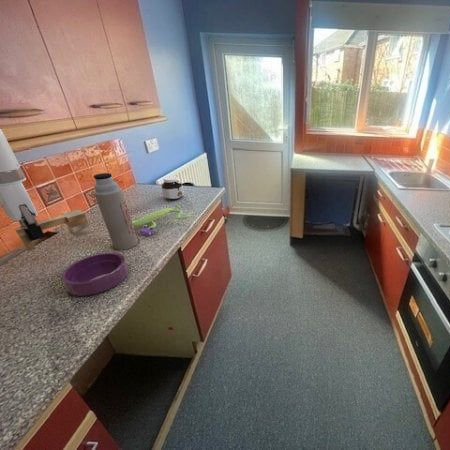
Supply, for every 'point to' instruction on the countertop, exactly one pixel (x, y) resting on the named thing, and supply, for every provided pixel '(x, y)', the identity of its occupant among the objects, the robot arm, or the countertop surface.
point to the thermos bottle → (114, 211)
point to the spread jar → (172, 188)
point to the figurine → (154, 217)
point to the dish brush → (73, 220)
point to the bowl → (95, 274)
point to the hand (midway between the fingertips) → (36, 237)
